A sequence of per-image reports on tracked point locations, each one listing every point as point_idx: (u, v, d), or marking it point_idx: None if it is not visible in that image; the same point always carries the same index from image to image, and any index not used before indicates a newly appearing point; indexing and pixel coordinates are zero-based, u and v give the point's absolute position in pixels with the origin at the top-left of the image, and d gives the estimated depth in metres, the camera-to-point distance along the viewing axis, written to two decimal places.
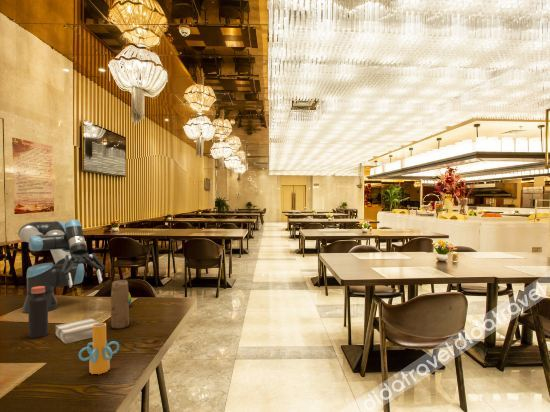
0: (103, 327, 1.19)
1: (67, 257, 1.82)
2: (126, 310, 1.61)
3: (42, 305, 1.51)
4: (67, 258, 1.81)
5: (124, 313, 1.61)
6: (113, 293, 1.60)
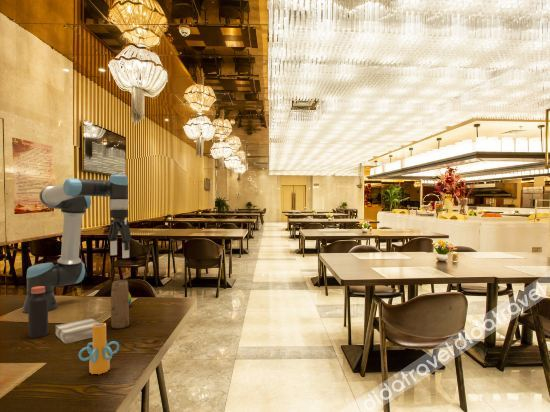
0: (103, 327, 1.19)
1: None
2: (126, 310, 1.61)
3: (42, 305, 1.51)
4: None
5: (124, 313, 1.61)
6: (113, 293, 1.60)
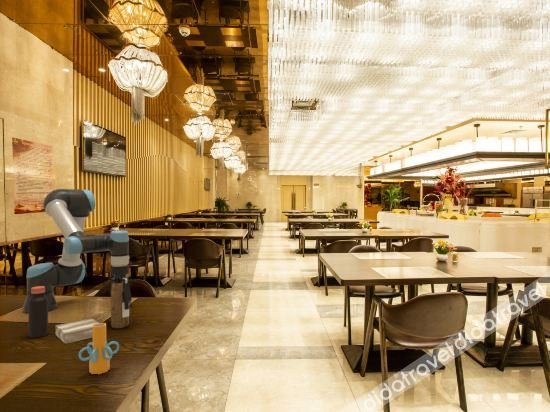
0: (103, 327, 1.19)
1: None
2: None
3: (42, 305, 1.51)
4: None
5: None
6: (113, 293, 1.60)
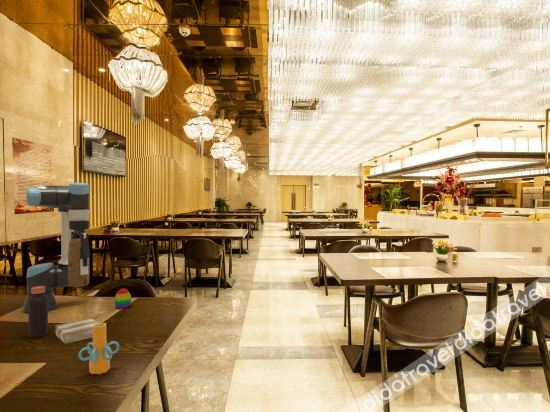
0: (103, 327, 1.19)
1: None
2: None
3: (42, 305, 1.51)
4: None
5: None
6: (70, 249, 1.48)
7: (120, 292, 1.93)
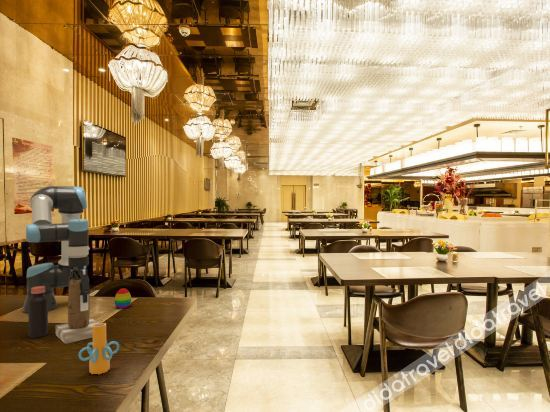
0: (103, 327, 1.19)
1: None
2: None
3: (42, 305, 1.51)
4: None
5: (82, 312, 1.49)
6: (70, 290, 1.48)
7: (120, 292, 1.93)
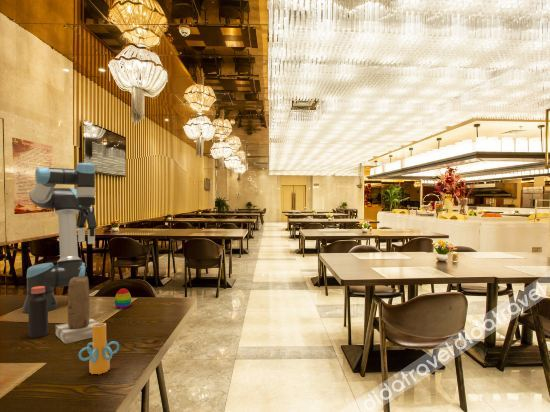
0: (103, 327, 1.19)
1: None
2: (84, 309, 1.50)
3: (42, 305, 1.51)
4: None
5: (82, 312, 1.49)
6: (70, 290, 1.48)
7: (120, 292, 1.93)
